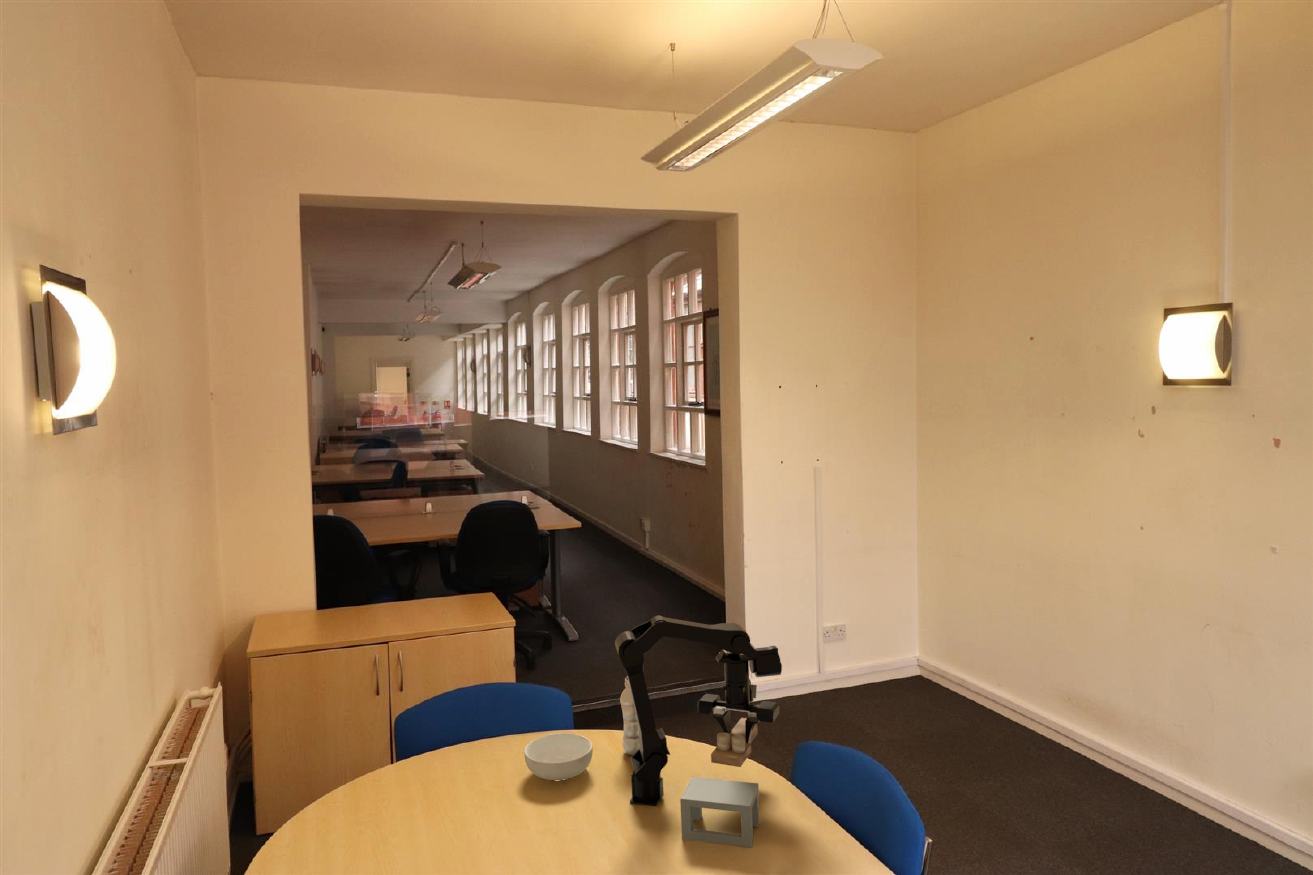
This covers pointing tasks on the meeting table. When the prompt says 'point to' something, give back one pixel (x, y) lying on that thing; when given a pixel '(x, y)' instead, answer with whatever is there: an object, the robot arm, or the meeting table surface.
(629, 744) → the plastic bottle
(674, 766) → the meeting table surface
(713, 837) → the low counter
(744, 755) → the glasses tray
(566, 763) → the cereal bowl
